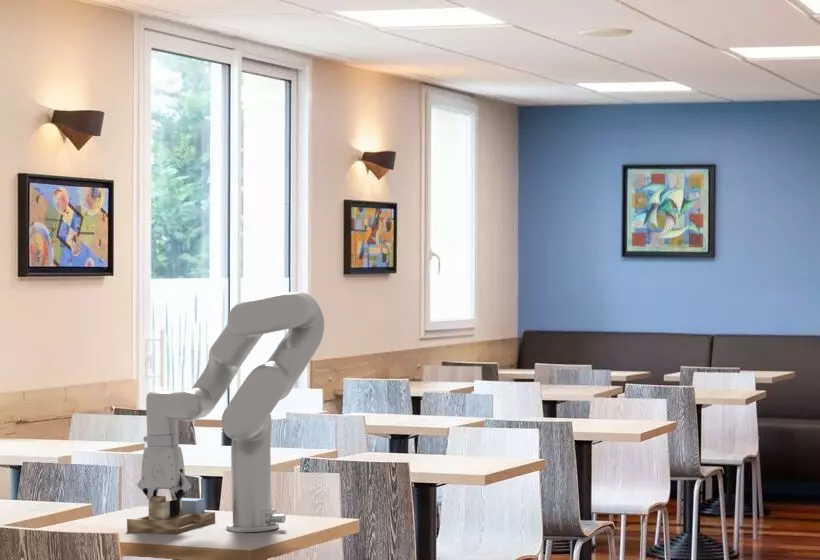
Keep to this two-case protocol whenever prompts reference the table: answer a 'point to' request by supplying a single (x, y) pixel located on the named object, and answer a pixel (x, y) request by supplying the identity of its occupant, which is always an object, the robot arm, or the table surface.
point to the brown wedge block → (161, 508)
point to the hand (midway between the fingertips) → (164, 514)
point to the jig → (170, 523)
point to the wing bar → (193, 506)
